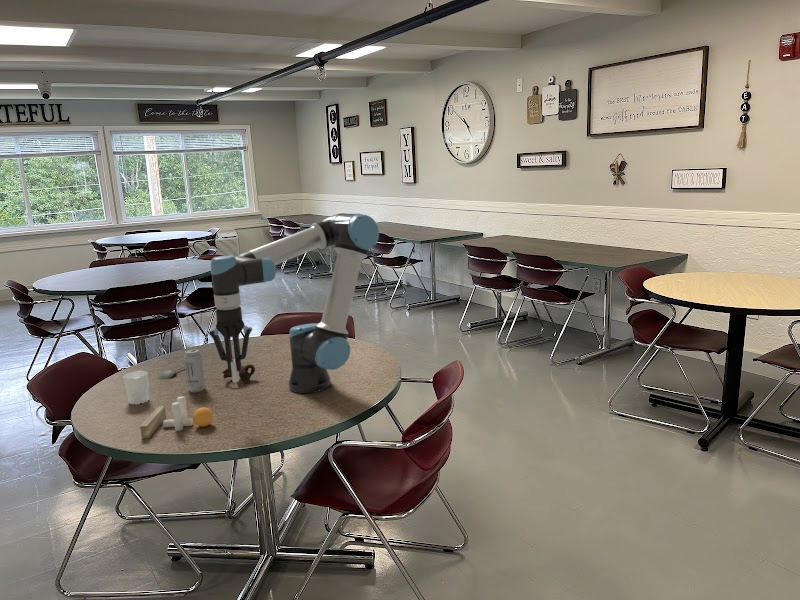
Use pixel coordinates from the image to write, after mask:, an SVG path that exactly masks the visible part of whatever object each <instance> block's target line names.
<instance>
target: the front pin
mask: <svg viewBox="0 0 800 600" xmlns="http://www.w3.org/2000/svg"><path fill="white" fill-rule="evenodd" d="M193 422H194V421H193V417H192V418H191V417H190V418H188V417H187V418H186V419H182V423H183V427H192V426H193V424H194V423H193ZM162 427H163V428H175V425H174V418H173V419H172V418H170V419H164V421H163V422H162Z"/></svg>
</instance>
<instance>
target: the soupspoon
mask: <svg viewBox="0 0 800 600" xmlns="http://www.w3.org/2000/svg"><path fill="white" fill-rule="evenodd" d="M183 368H185V365H183V366H180V367H178V368H176V369H167V370H165V371H162V372H161V373H160V374H159V375H158V376H157V379H158V380H169V379H171V378H172V377H173V376H174V375H175V374H176V373H177V371H179V370H181V369H183Z"/></svg>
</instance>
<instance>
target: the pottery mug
mask: <svg viewBox="0 0 800 600" xmlns="http://www.w3.org/2000/svg"><path fill="white" fill-rule="evenodd" d="M241 367H242V368H241V370H240V371H239V381H238V382H235V384H237V387H241V386H243V385H245V384H248V383H250V379H251V377H252V376H253V375H254V374H255V372H256V368H255V366H254V365H253V364H246V365H245V366H243V365H241ZM250 369H251V370H250ZM249 370H250V372H249ZM222 374H223V376H222V377H223V379H224V380H226V379H228V378H232V371H230V372H229V371H228V368H226V369H225V370H223V371H222Z"/></svg>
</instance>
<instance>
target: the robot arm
mask: <svg viewBox="0 0 800 600" xmlns="http://www.w3.org/2000/svg"><path fill="white" fill-rule="evenodd" d="M378 226H379V225H377V223H376V221H375V220H374V219H373V217H371V216H369V215H367V214H364V213H363V214H362V213H337V214H334V215H330V216H328V217H325V218H323V219H321V220H319V221H316V222H314V223H312V224H311V225H310V227H309V228H306V229H303V230H301V231H298V232H295V233H292V234H291V235H288V236H285V237H282V238H280V239H278V240H275V241H273V242H269V243H267V244H264V245H262V246H259V247H257V248H254V249H251V250H249V251H245V252H243V253H240V254H232V255H221V256H220V255H219V256H215V257H213V258H211V260H210V275H211V281H212V287H213V298H214V299H213V300H214V305H215V307H214V308H215V317H216V324H215V328H213V329H211V330H210V331H209V332H208V334H209V336H211V338H212V340H213V343H214V344H215V347H216V350H217V353H218V355H219V358H220V360H221V361H225V362H226V363H227V369H228V371H229V372H230V371H232V377H231V378H232V383H236V382H238V381H239V379H240V377H239V371H240V370H241V368H242V367H241V366H242V360H244V359H245V358H246V357H247V353H248V346H249V339H250V334H251V333H252V332H253V331H252V330H253V327H251V326H250V327H249V326H247V325H245V322H244V320H243V314H242V313H243V311H242V307H241V303H242V301H241V294H240V291H241V290H240V287H242V286H243V287H244V286H247V285H248V286H249V285H255V284H261V283H263V284H264V283H266V282H270V281H271V282H272V281H274V279H275V278H276V274H277V273H276V269H277V268H276V265H280V264H281V263H284V262H287V261H289V260H292V259H294V258H296V257H299V256H301V255H303V254H307V253H309V252H311V251H314V250H316V249H320V250H324V249H326V248H330V247H334V250H335V252H336V253H337V255H336V258H335V259H336V261H335V263H334V267H333V272H332V276H331V279H330V285H329V288H328V291H327V296H326V301H325V304H324V308H323V312H322V316H321V320H320V322H318V323H317V322H315V323H306V324H305V323H304V324H300V325H296V326H293V327H291V328H290V329H289V338H288V339H289V344H290V346H289V347H290V355H291V366H292V367H291V371H290V376H289V381H288V388H289V389H288V390H290V391H291V390H292V391H291V392H293V391H294V393H297V392H299V394H310V393H309V392H313V393H317V392H316V391H318V392H320V391H319V390H322V389H325V388H327V387H328V388H329V385H330V384H332V381H331V376H330V374H329V371H328V370H330V371H332V370H334V371H335V370H338V369H340V368H341V367H342V366H344V365H345V364H346V363H347V361H348V359H349V358H350V355H351V345H350V343H349V342H348V336H349V331H348V330H347V328H346V326H347V322H348V318H349V314H350V309H351V306H352V303H353V299H354V294H355V290H356V284H357V281H358V278H359V273H360V270H361V265H362V262H363V260H364V259H366V258H367V257H368V256H369V252H370V250H371V249H372V248H373V247H375V246H376V244H377V243H378V241H379V237H380V230H379V229H380V228H379V227H378ZM242 330H243V334H244V336H243V339H242V340H243V341H242V347H241V346H240V334H241V332H242ZM219 333H220V334H221V335H222V336H223V341H224V346H223V343H222V340H221V336H220V335H219ZM231 338H232V341H233V343H232V341H231ZM232 344H233V350H232ZM224 347H225V348H224ZM233 351H234V353H233ZM233 354H234V357H233ZM330 386H331V385H330ZM328 388H327V389H328ZM325 390H326V389H325ZM322 391H323V390H322Z"/></svg>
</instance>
